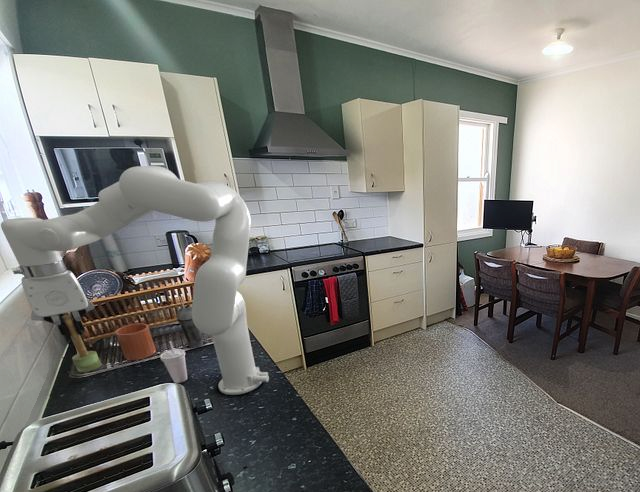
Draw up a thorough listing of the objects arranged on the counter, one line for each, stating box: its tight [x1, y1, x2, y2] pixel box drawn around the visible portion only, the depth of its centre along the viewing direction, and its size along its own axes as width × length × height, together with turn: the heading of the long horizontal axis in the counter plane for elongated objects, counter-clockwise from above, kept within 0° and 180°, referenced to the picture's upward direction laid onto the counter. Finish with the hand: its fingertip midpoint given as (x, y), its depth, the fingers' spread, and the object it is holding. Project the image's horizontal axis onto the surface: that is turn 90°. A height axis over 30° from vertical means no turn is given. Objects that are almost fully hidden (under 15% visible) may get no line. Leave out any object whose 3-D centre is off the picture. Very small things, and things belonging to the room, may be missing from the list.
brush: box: [61, 314, 102, 373], centre depth 95 cm, size 5×5×16 cm
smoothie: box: [159, 340, 188, 384], centre depth 108 cm, size 6×6×14 cm
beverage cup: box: [176, 295, 204, 348], centre depth 127 cm, size 7×7×20 cm
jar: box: [114, 322, 157, 361], centre depth 122 cm, size 9×9×10 cm
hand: (74, 334), depth 94 cm, fingers closed on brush
